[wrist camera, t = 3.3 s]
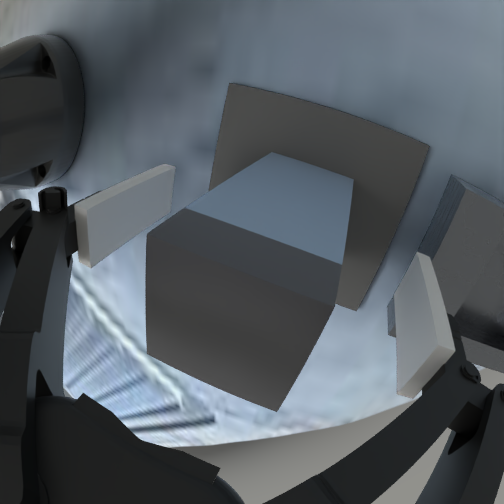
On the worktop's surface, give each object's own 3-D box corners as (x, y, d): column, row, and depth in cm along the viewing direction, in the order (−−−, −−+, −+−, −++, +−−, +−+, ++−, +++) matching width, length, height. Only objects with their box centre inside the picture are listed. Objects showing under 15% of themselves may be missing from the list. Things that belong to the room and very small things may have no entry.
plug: (253, 225, 21) (147, 353, 11) (271, 152, 18) (146, 233, 8) (327, 252, 20) (276, 411, 10) (353, 179, 17) (334, 307, 7)
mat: (201, 249, 23) (199, 251, 23) (231, 83, 17) (229, 83, 17) (356, 307, 21) (356, 311, 21) (428, 145, 15) (429, 146, 15)
